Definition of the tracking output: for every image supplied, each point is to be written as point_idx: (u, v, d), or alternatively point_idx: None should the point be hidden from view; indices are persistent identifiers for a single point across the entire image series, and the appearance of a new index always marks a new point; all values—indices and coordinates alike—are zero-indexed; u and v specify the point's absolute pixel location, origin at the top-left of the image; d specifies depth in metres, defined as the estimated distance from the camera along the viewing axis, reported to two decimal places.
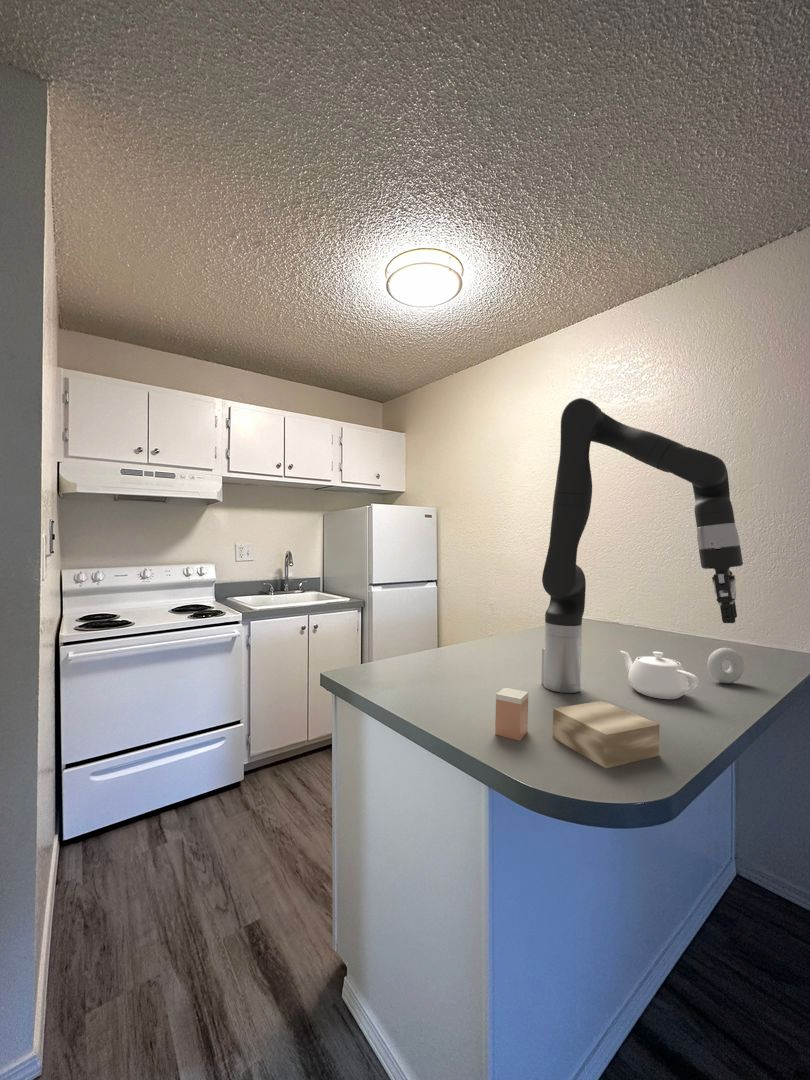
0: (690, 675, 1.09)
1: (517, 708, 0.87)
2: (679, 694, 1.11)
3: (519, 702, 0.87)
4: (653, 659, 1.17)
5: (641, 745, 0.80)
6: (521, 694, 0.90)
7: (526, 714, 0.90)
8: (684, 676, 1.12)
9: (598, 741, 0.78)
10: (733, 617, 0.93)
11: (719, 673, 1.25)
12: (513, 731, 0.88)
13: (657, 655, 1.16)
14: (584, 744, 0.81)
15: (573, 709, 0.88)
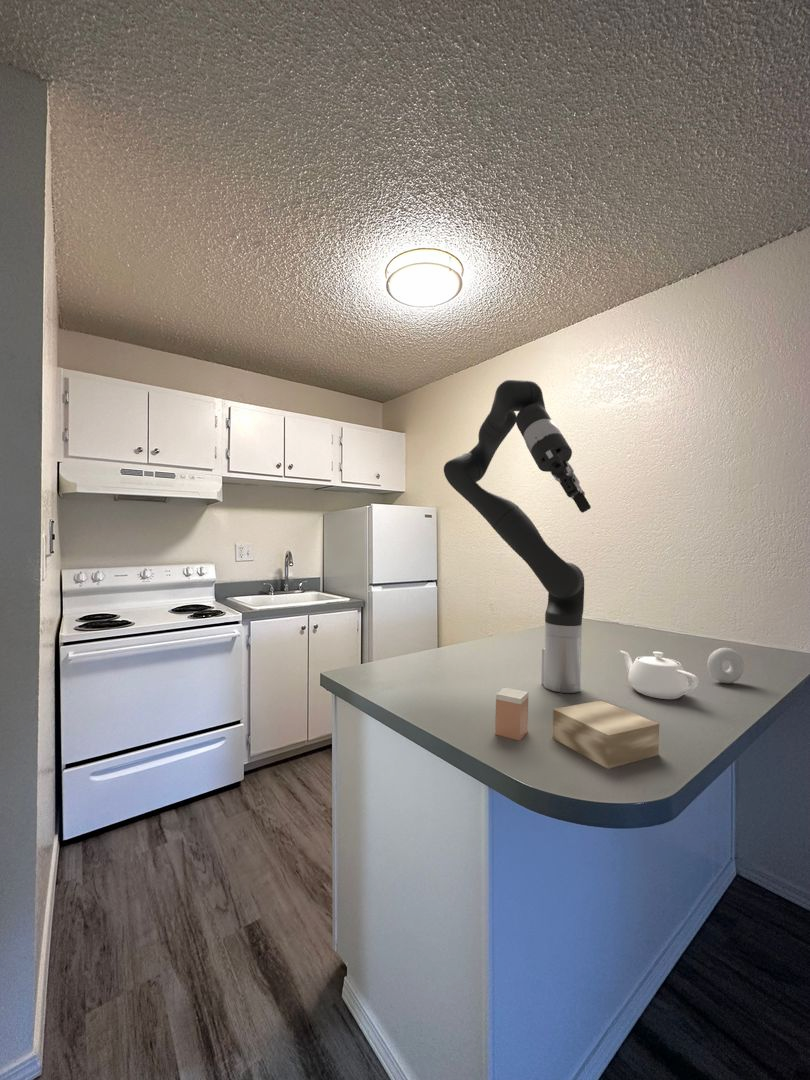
0: (690, 675, 1.09)
1: (517, 708, 0.87)
2: (679, 694, 1.11)
3: (519, 702, 0.87)
4: (653, 659, 1.17)
5: (642, 745, 0.80)
6: (521, 694, 0.90)
7: (526, 714, 0.90)
8: (684, 676, 1.12)
9: (599, 741, 0.78)
10: (575, 487, 0.87)
11: (719, 673, 1.25)
12: (513, 731, 0.88)
13: (657, 655, 1.16)
14: (585, 744, 0.81)
15: (573, 709, 0.88)
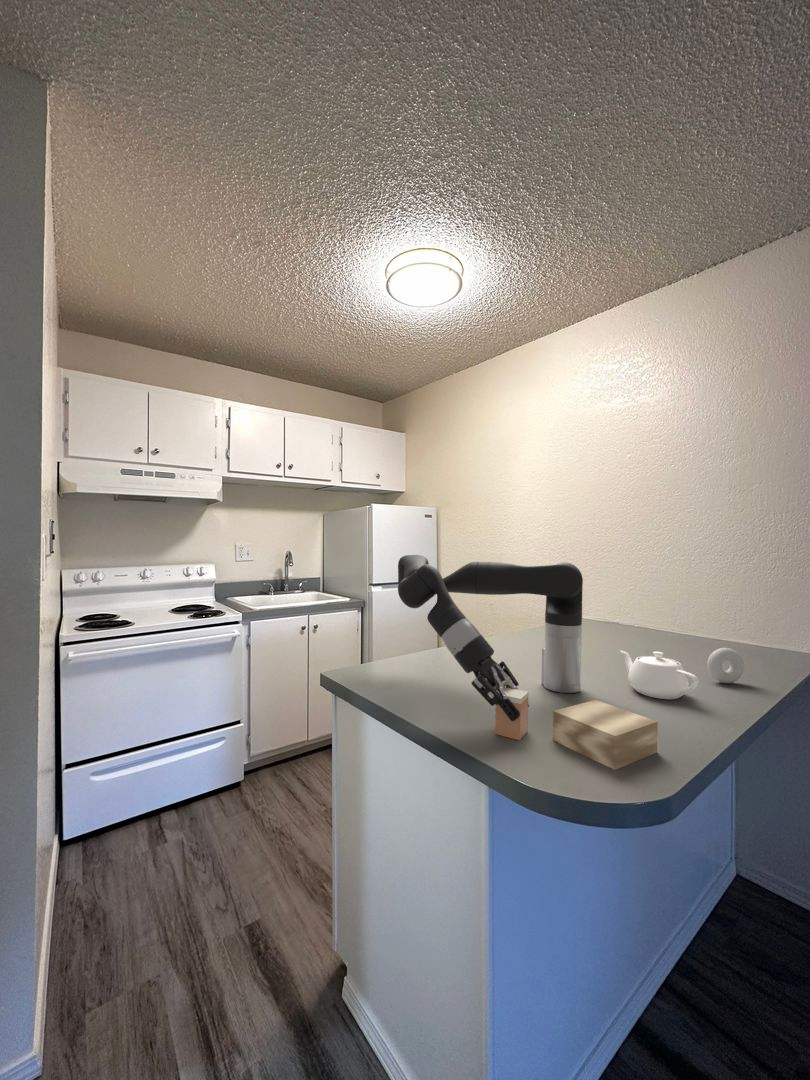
0: (690, 675, 1.08)
1: (517, 708, 0.87)
2: (679, 694, 1.11)
3: (519, 701, 0.87)
4: (653, 659, 1.16)
5: (643, 743, 0.81)
6: (521, 694, 0.90)
7: (526, 714, 0.90)
8: (684, 676, 1.12)
9: (605, 743, 0.78)
10: (515, 711, 0.87)
11: (719, 673, 1.25)
12: (513, 731, 0.88)
13: (657, 655, 1.16)
14: (589, 746, 0.80)
15: (572, 710, 0.88)
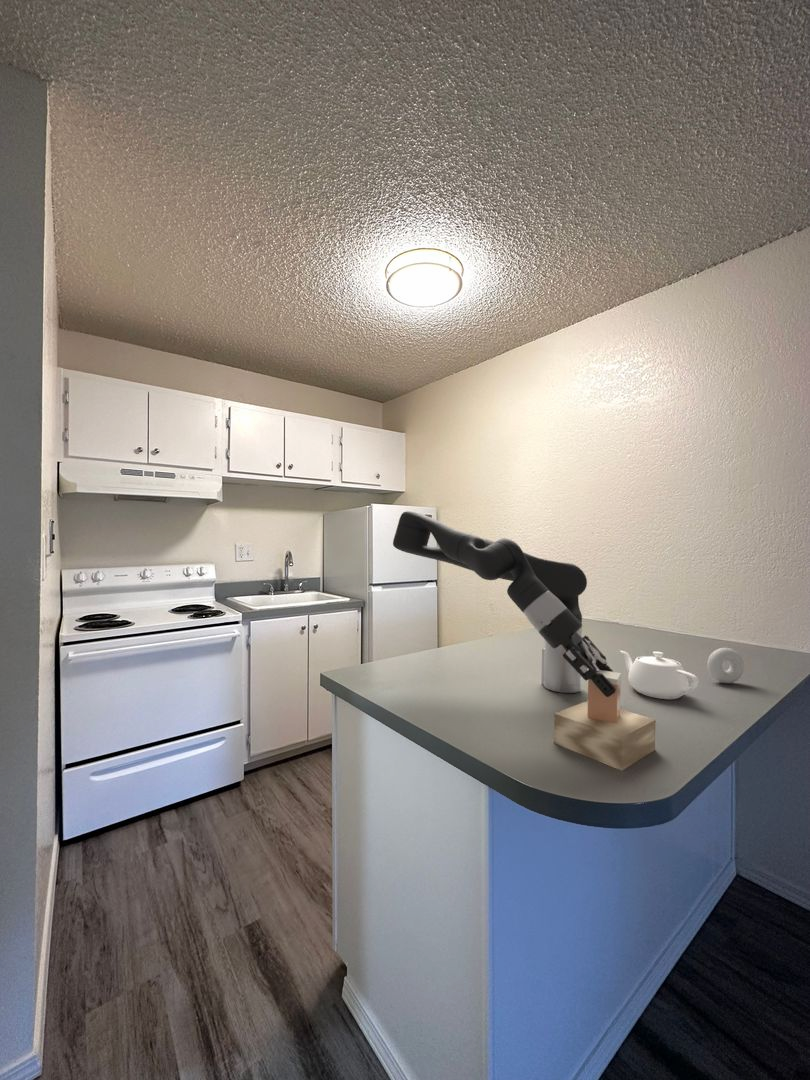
0: (690, 675, 1.08)
1: None
2: (679, 694, 1.11)
3: (616, 682, 0.82)
4: (653, 659, 1.16)
5: (644, 742, 0.81)
6: (615, 675, 0.85)
7: (619, 696, 0.85)
8: (684, 676, 1.12)
9: (611, 744, 0.78)
10: (611, 686, 0.81)
11: (719, 673, 1.25)
12: (609, 713, 0.83)
13: (657, 655, 1.16)
14: (594, 748, 0.80)
15: (572, 712, 0.87)
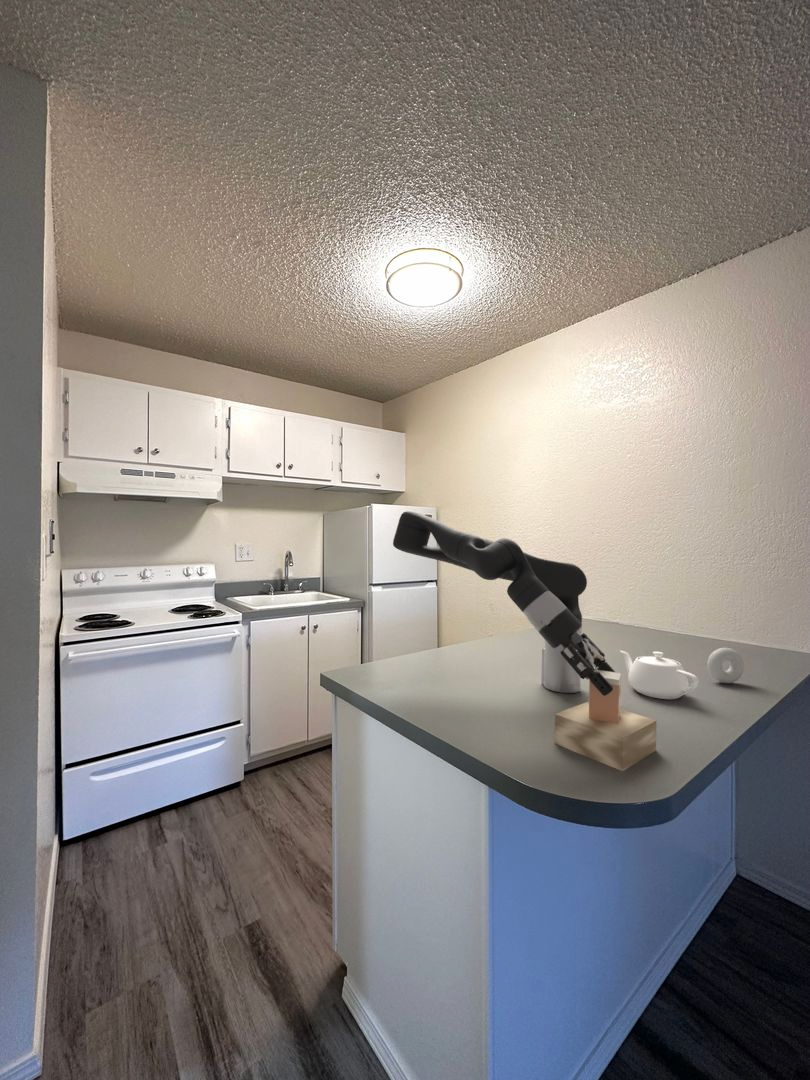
0: (690, 675, 1.08)
1: (614, 689, 0.82)
2: (679, 694, 1.11)
3: (617, 683, 0.82)
4: (653, 659, 1.16)
5: (645, 743, 0.81)
6: (615, 675, 0.85)
7: None
8: (684, 676, 1.12)
9: (612, 745, 0.77)
10: (608, 684, 0.81)
11: (719, 673, 1.25)
12: (610, 714, 0.83)
13: (657, 655, 1.16)
14: (595, 749, 0.80)
15: (573, 713, 0.87)
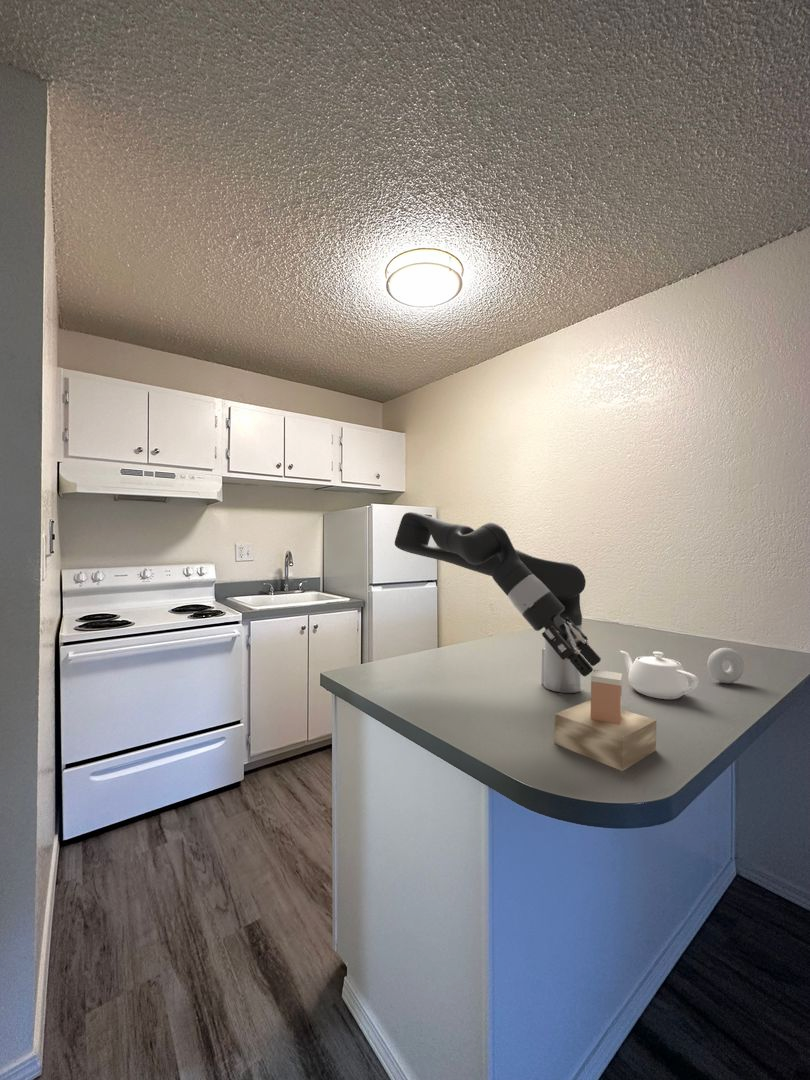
0: (690, 675, 1.08)
1: (616, 690, 0.82)
2: (679, 694, 1.11)
3: (619, 683, 0.82)
4: (653, 659, 1.16)
5: (645, 743, 0.81)
6: (617, 675, 0.84)
7: (621, 697, 0.85)
8: (684, 676, 1.12)
9: (612, 745, 0.77)
10: (587, 665, 0.82)
11: (719, 673, 1.25)
12: (612, 714, 0.82)
13: (657, 655, 1.16)
14: (595, 748, 0.80)
15: (573, 712, 0.87)
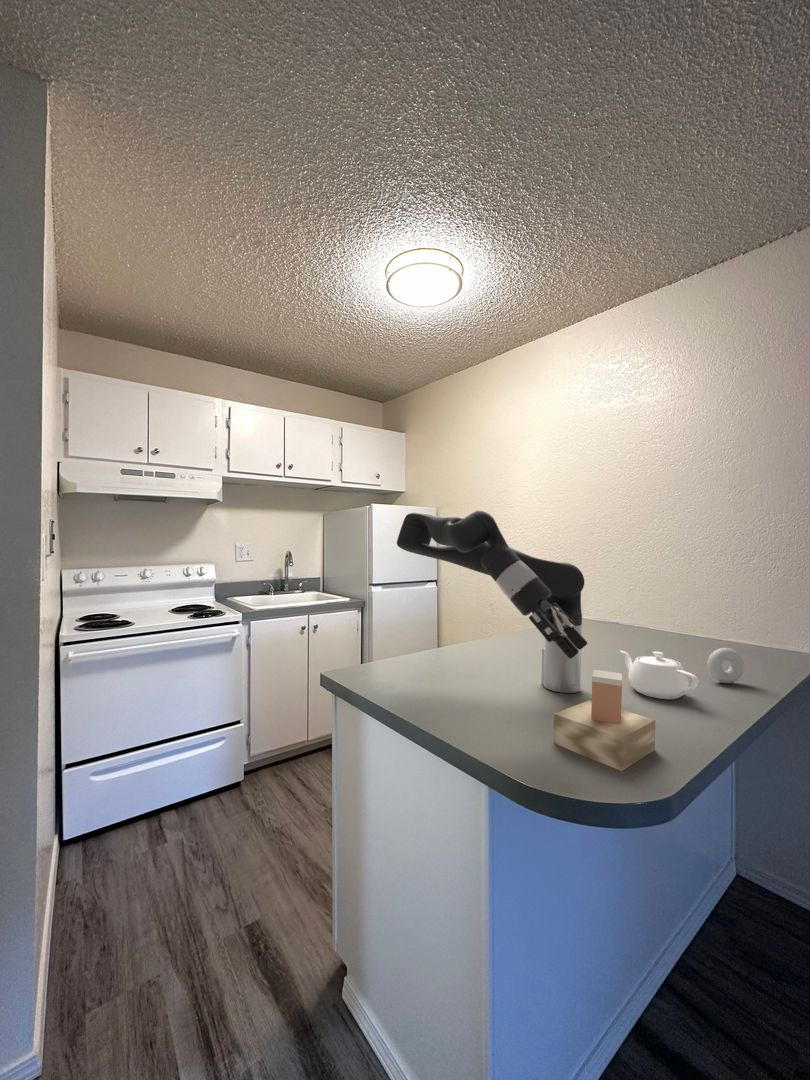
0: (690, 675, 1.08)
1: (617, 690, 0.82)
2: (679, 694, 1.11)
3: (620, 683, 0.82)
4: (653, 659, 1.16)
5: (644, 743, 0.81)
6: (617, 675, 0.84)
7: None
8: (684, 676, 1.12)
9: (611, 744, 0.77)
10: (573, 647, 0.84)
11: (719, 673, 1.25)
12: (613, 715, 0.82)
13: (657, 655, 1.16)
14: (594, 748, 0.80)
15: (572, 712, 0.87)
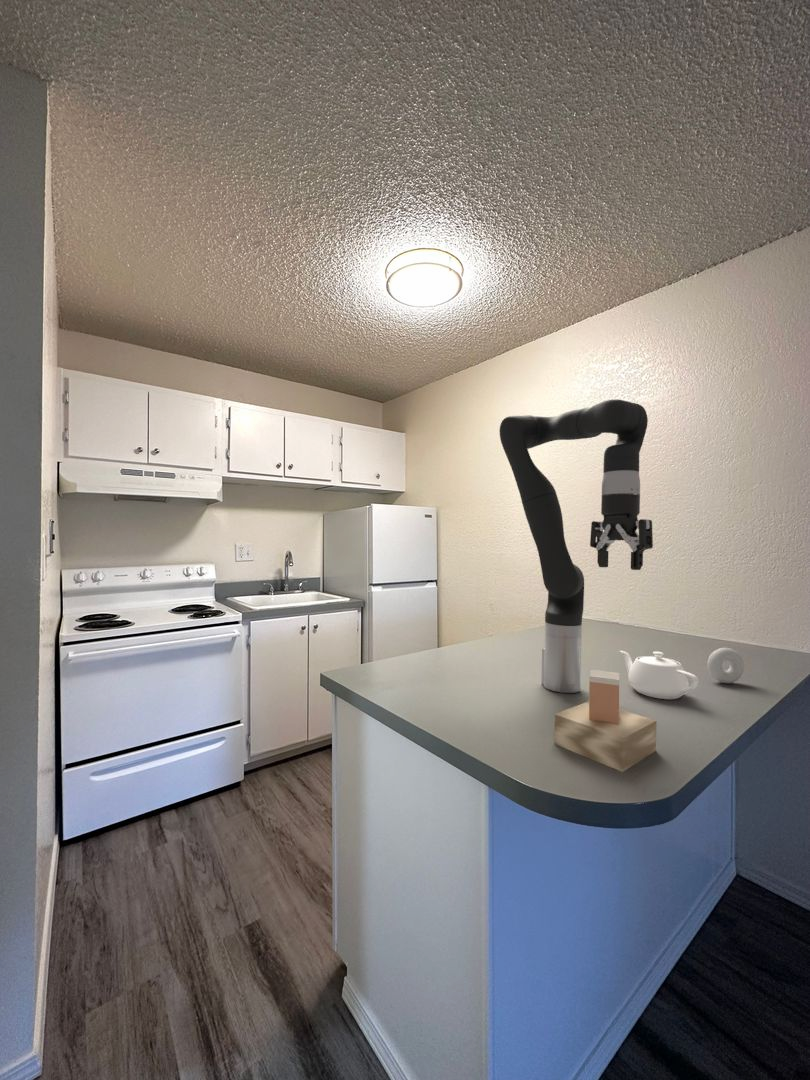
0: (690, 675, 1.08)
1: (614, 690, 0.82)
2: (679, 694, 1.11)
3: (617, 683, 0.82)
4: (653, 659, 1.16)
5: (645, 743, 0.81)
6: (614, 675, 0.84)
7: None
8: (684, 676, 1.12)
9: (612, 745, 0.77)
10: None
11: (719, 673, 1.25)
12: (611, 715, 0.82)
13: (657, 655, 1.16)
14: (595, 749, 0.80)
15: (573, 713, 0.87)
